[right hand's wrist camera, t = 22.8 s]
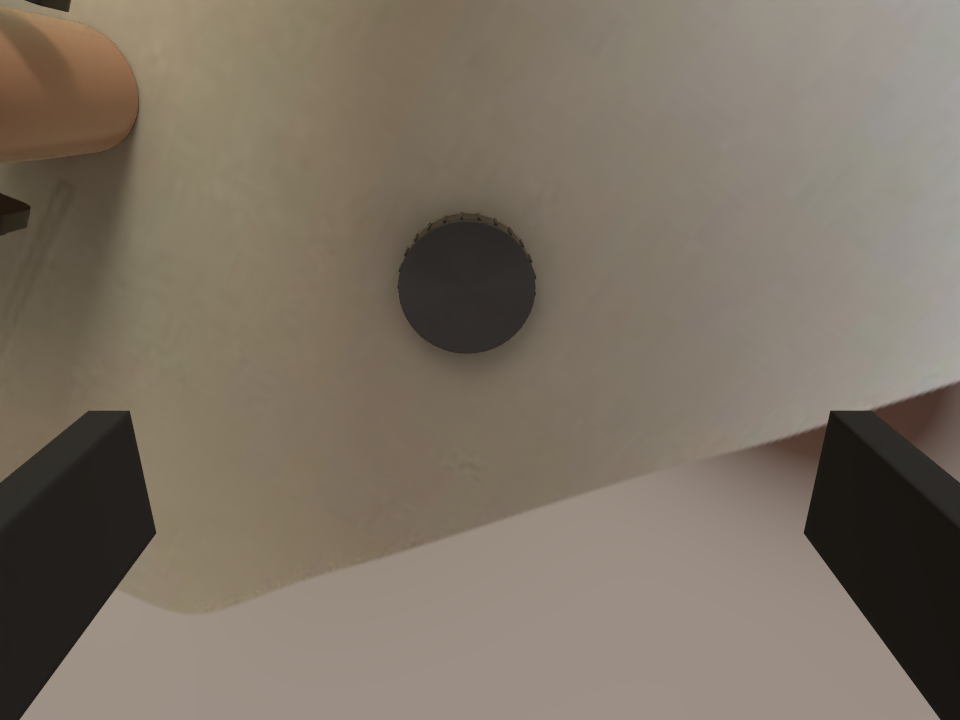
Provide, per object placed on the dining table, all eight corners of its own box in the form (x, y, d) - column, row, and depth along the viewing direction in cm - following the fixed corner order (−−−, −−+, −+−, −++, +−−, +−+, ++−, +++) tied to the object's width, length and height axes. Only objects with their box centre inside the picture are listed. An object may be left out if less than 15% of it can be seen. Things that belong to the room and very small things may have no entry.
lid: (554, 241, 29) (559, 249, 28) (503, 358, 31) (505, 373, 30) (427, 191, 29) (424, 196, 27) (383, 315, 31) (378, 328, 29)
